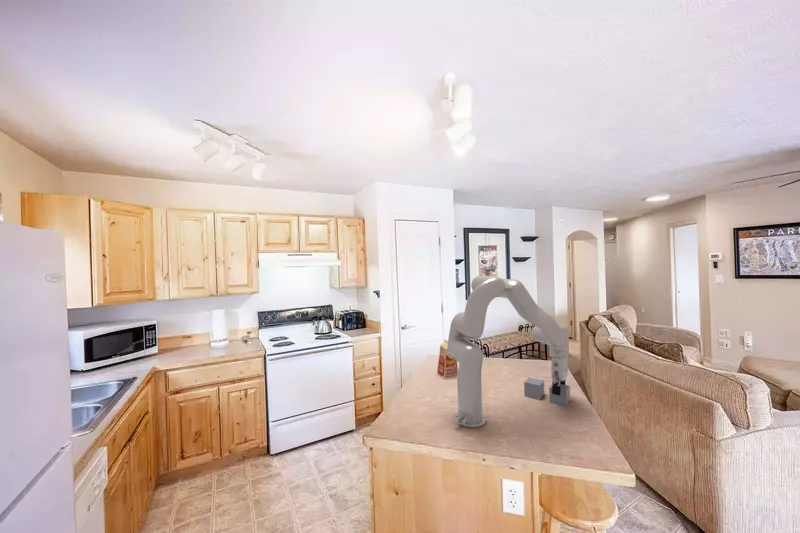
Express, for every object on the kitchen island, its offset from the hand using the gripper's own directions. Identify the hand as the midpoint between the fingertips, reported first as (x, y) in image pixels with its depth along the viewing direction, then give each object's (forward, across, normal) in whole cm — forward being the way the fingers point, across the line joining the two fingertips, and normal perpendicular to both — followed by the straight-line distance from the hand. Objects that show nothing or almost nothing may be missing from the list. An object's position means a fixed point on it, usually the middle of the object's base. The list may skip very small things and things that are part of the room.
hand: (558, 390), depth 143 cm
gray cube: (+5, 0, +11) cm, 12 cm away
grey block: (+5, 0, 0) cm, 5 cm away
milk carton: (+6, 0, +57) cm, 57 cm away
